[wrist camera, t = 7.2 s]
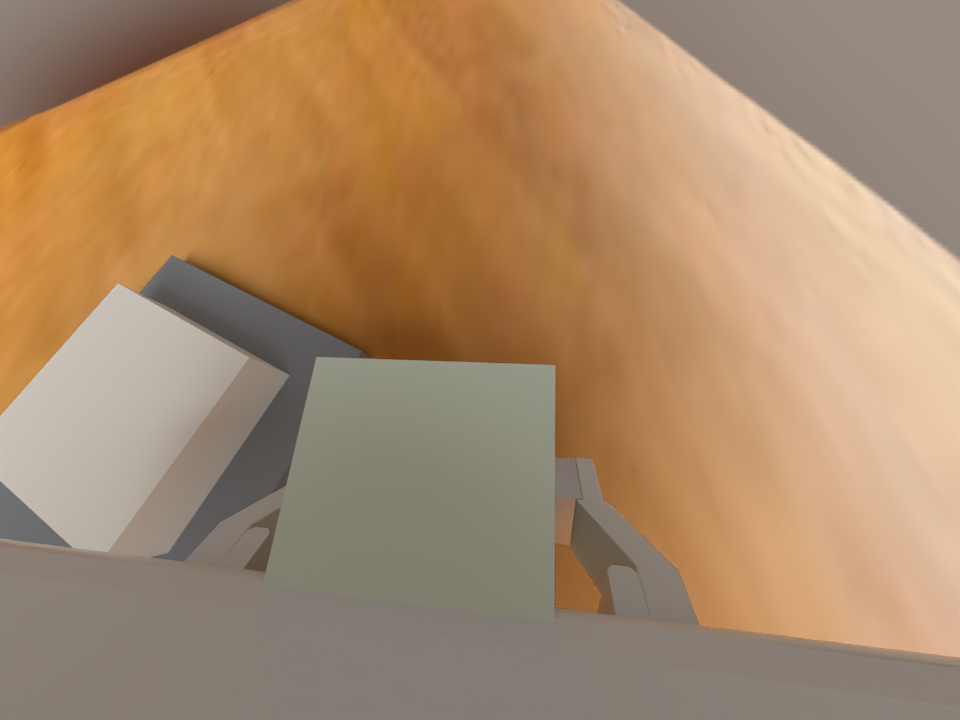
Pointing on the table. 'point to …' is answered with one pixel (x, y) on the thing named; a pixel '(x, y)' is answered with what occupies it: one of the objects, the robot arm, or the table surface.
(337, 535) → the sage block
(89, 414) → the slate board
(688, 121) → the table surface
